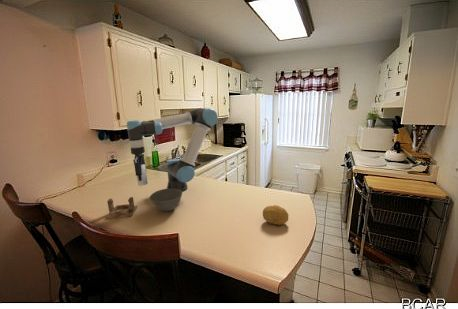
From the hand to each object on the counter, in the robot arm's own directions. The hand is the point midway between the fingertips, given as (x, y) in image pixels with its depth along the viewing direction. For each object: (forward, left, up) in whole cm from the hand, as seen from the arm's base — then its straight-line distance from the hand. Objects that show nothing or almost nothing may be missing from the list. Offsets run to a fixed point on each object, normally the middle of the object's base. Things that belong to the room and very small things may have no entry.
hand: (142, 183), depth 134 cm
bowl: (-15, +7, -16) cm, 23 cm away
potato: (-74, +33, -16) cm, 82 cm away
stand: (+12, +6, -16) cm, 21 cm away
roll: (0, 0, 0) cm, 0 cm away
